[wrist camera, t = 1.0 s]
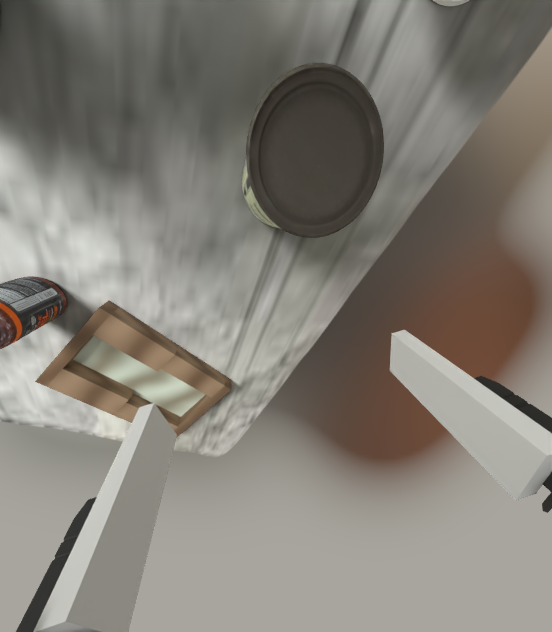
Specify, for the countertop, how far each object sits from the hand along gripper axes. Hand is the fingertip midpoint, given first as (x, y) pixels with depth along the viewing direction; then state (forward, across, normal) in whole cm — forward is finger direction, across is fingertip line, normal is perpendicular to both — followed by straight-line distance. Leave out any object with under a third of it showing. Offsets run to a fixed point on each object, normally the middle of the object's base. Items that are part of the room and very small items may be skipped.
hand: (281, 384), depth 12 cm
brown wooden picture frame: (+23, -21, -13) cm, 34 cm away
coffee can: (+24, +7, +10) cm, 27 cm away
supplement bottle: (+24, -28, +4) cm, 37 cm away
